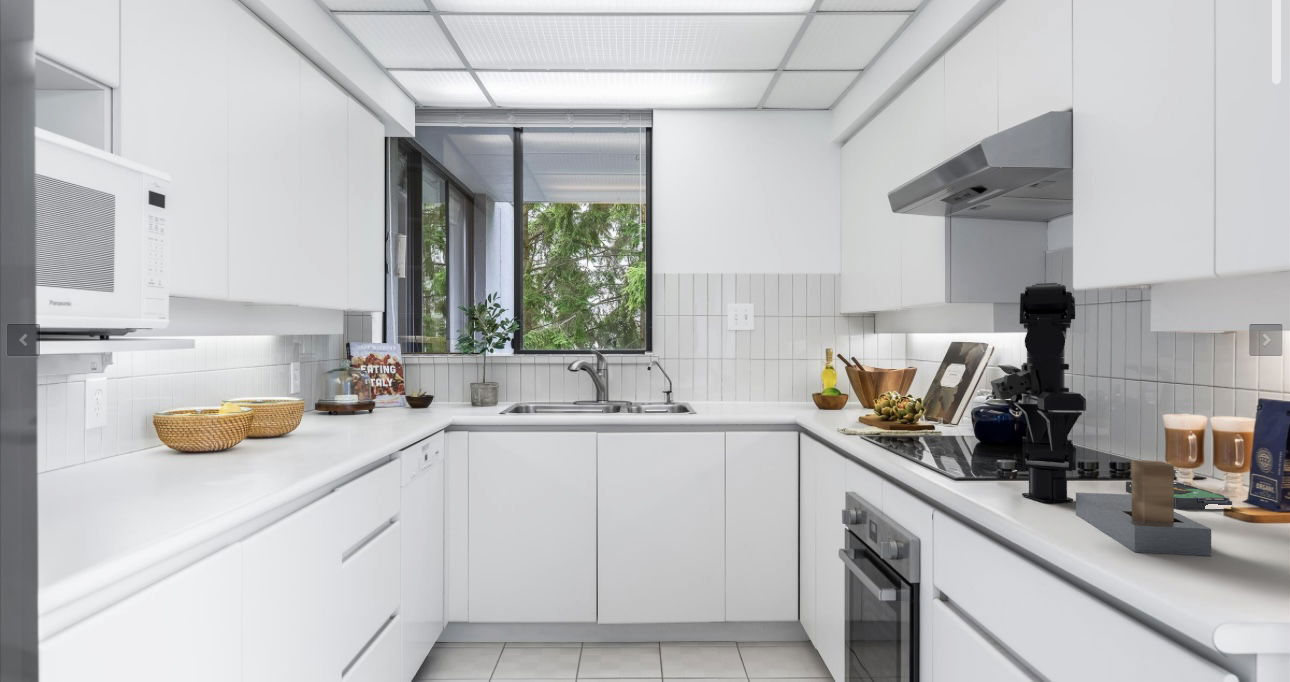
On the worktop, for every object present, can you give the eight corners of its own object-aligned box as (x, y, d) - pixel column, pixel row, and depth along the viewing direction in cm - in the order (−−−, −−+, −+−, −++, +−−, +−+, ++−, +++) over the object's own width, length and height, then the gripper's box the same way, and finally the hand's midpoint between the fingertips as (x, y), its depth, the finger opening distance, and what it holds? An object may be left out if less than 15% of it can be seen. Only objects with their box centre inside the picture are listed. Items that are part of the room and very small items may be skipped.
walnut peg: (1131, 538, 111) (1131, 460, 111) (1160, 539, 110) (1159, 460, 110) (1144, 545, 107) (1144, 464, 107) (1173, 546, 106) (1173, 465, 106)
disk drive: (1124, 494, 143) (1176, 512, 128) (1124, 481, 143) (1176, 496, 128) (1175, 494, 143) (1234, 512, 128) (1175, 481, 143) (1234, 496, 128)
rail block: (1075, 514, 125) (1075, 492, 125) (1138, 517, 123) (1138, 494, 123) (1134, 552, 104) (1134, 525, 104) (1211, 556, 102) (1211, 528, 102)
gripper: (981, 355, 132) (981, 438, 132) (1011, 359, 113) (1012, 454, 114) (1045, 355, 129) (1045, 439, 129) (1087, 359, 111) (1087, 456, 111)
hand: (1045, 446), depth 121 cm, fingers open, 9 cm apart
